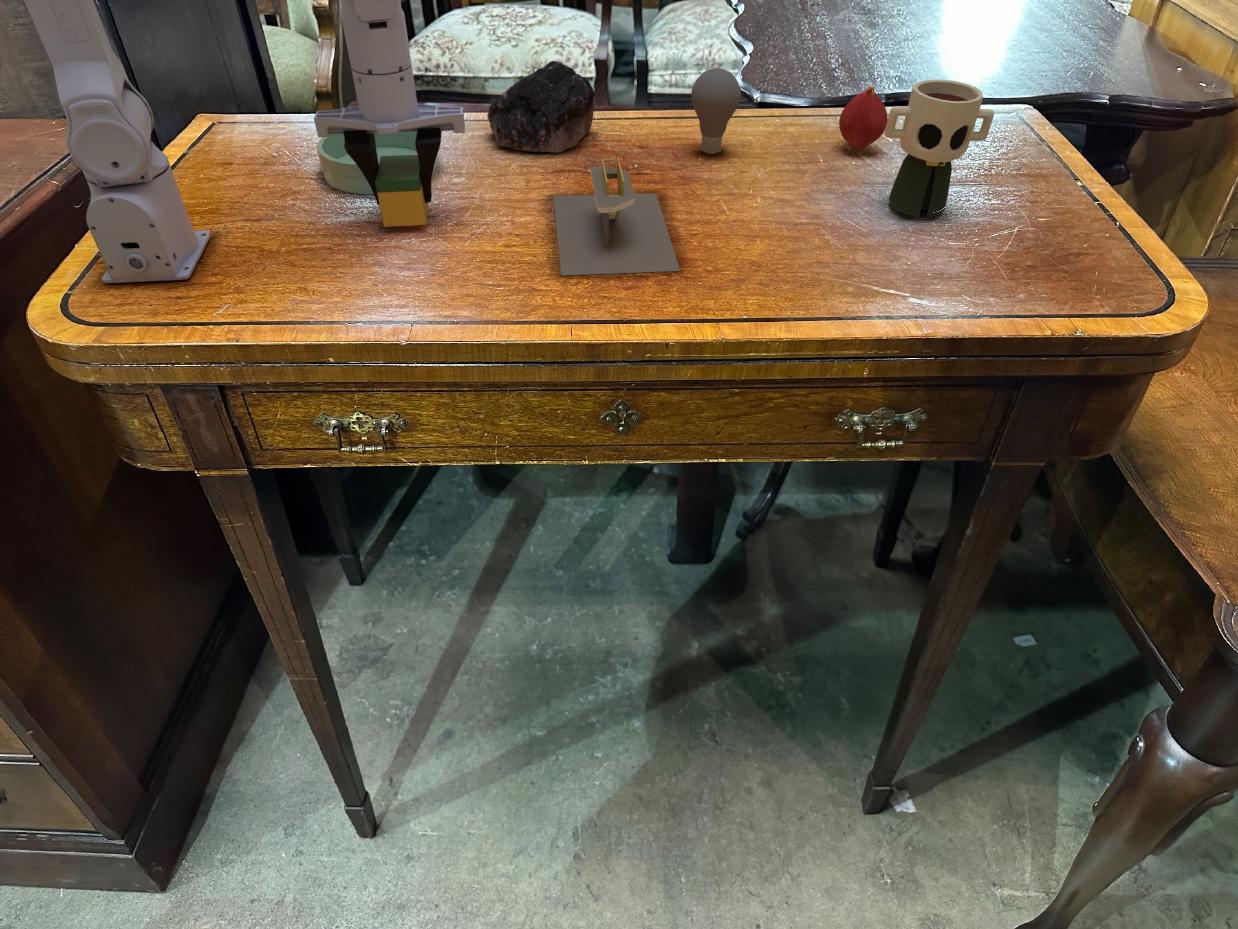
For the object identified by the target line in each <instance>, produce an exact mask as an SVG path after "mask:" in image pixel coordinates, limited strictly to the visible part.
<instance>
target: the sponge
mask: <svg viewBox="0 0 1238 929" xmlns="http://www.w3.org/2000/svg"><path fill="white" fill-rule="evenodd" d="M375 184H376V189H377V192H378V193H377V194H378V199H379V204H380V205H379V208H380V213H381V218H382V223H383V224H382V225H383V227H384V228H387V227H406V226H407V227H410V226H426V225H427V220H428V209H429V203H425V199H424V194H423V189H422V177H421V170H420V165H419V160H418V155H396V156H381V157H380V162H379V167H378V171H377V176H376V180H375Z"/></svg>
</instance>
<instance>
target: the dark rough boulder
mask: <svg viewBox="0 0 1238 929" xmlns="http://www.w3.org/2000/svg"><path fill="white" fill-rule="evenodd" d="M594 101H595V90H594V88H593V86H592V85H591V82H590V80H589V79H588V78H587V77H585V76H582V75H581V74H579V73H576V71H575V70H574V68H573V67H570V66H568V65H567V64H564V63H563V62H562V61H561V62H560V61H556V60H551V61H549V62H548V63H547V64H545V65H544V66H543V67H539V68H538V69H536V70H535V71H533V72H532V73H529V74H527V75H525V76H524V77H523V78H521V79H519V80H518V81H517V82H516V83H514V84H513V85H510V86H509V87H508V88H507V89H506V90H505V91H504V92H502V93H501V94H500V95H499V96H498V97H496V98H495V99H494V100H493V102H492V103H491V104H490V106H489V107H488V111H487V114H486V116H487V120H488V122H489V127H490V129H491V131H492V133H493V135H494V138H495V140H496V144H497V145H499V146H500V147H503V148H505V147H506V148H510V149H511V150H514V151H524V152H535V153H538V152H541V153H544V152H548V153H563V152H564V151H565V150H568V149H571V148H574V147H575V146H577V145H578V142H579V141H581V140H582V139H583V137H584V136H585V135H587V134H588V133H589V132H590V130H591V127H592V126H593V125H592V124H593V120H594V112H595V110H594V109H595V102H594Z"/></svg>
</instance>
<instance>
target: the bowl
mask: <svg viewBox="0 0 1238 929" xmlns="http://www.w3.org/2000/svg"><path fill="white" fill-rule="evenodd" d="M374 135H375V143H376V150H377V157H378V163H379V162H380V157H381V156H396V155H417V151H416V146H415V141H416V136H417V132H398V133H395V134H378V133H374ZM344 143H345V140H344V134H332V135H330V136H329V137H320V139H319V140H318V142H317V144H316V152H317V156H318V160H319V164H320V170H321V173H322V175H323V178H324V180H325V182H326V184H328V185H329V186H330V187H332V188H334V189H335V190H338V191H340V192H345V193H350V194H355V195H374V194H373V191H372V189H371V187H370V185H369V183H368V182H367V180H366V178H365V176H364V175H363V173H362V172H361V170H360V169H359V167H358V166H357V165H356V163H355V162H354V161H353V159H352V158H351V157H350V156H349V155H348V154H347V152H346V150H345V147H344ZM436 171H437V160H436V161H435V164H434V168H433V173H432V177H433V176H434V175H435V173H436Z"/></svg>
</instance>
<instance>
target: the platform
mask: <svg viewBox="0 0 1238 929" xmlns="http://www.w3.org/2000/svg"><path fill="white" fill-rule="evenodd" d="M611 166H612V167H611ZM590 177H591V182H592V183H591V184H592V187H593V193H594V194H585V195H584V194H580V195H553V197H552V199H553V209H554V219H555V229H556V239H557V250H558V258H559V268H560V276H583V275H610V274H613V275H614V274H634V273H635V274H638V273H661V272H681V268H680V265H679V262H678V260H677V256H676V253H675V252H676V251H675V250H674V246H673V242H672V240H671V237H670V233H669V231H668V227H667V223H666V221H665V217H664V214H663V211H662V208H661V204H660V201H659V198H658V195H657V193H656V192H652V193H651V192H649V193H645V192H644V193H634V190H633V186H632V182H631V178H630V174H629V172H628V171H627V170H626V169H622V167H621V163H620V159H619V158H603V159H601V166H591V167H590ZM610 179H617V194H616V193H615V194H613V193H611V194H609V191H610V190H609V187H610V183H611V182H610V181H608V180H610Z"/></svg>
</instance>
